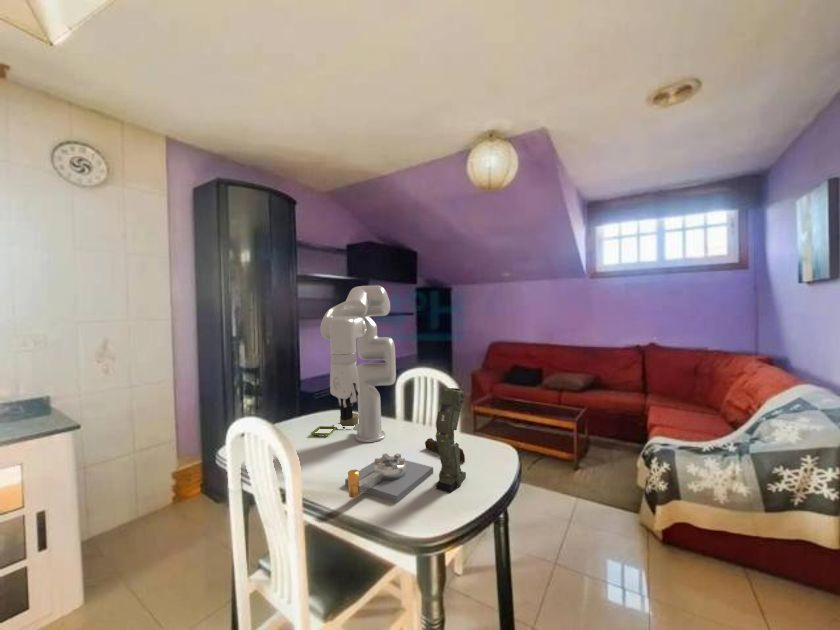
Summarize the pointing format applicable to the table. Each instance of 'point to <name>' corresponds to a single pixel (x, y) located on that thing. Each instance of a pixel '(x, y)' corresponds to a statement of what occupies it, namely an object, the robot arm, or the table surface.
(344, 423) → the flange
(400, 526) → the table surface
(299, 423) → the table surface
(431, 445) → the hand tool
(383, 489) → the nut plate
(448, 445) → the mechanical leg
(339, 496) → the table surface
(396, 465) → the crank handle
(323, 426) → the green rectangular frame
